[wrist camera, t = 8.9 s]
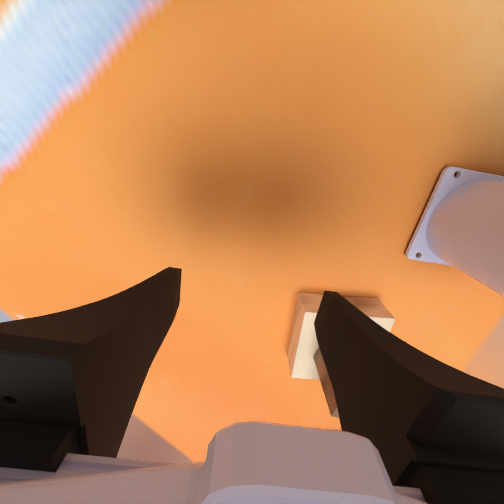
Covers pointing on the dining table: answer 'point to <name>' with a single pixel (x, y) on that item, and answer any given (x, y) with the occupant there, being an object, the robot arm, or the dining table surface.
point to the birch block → (305, 337)
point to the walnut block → (326, 383)
